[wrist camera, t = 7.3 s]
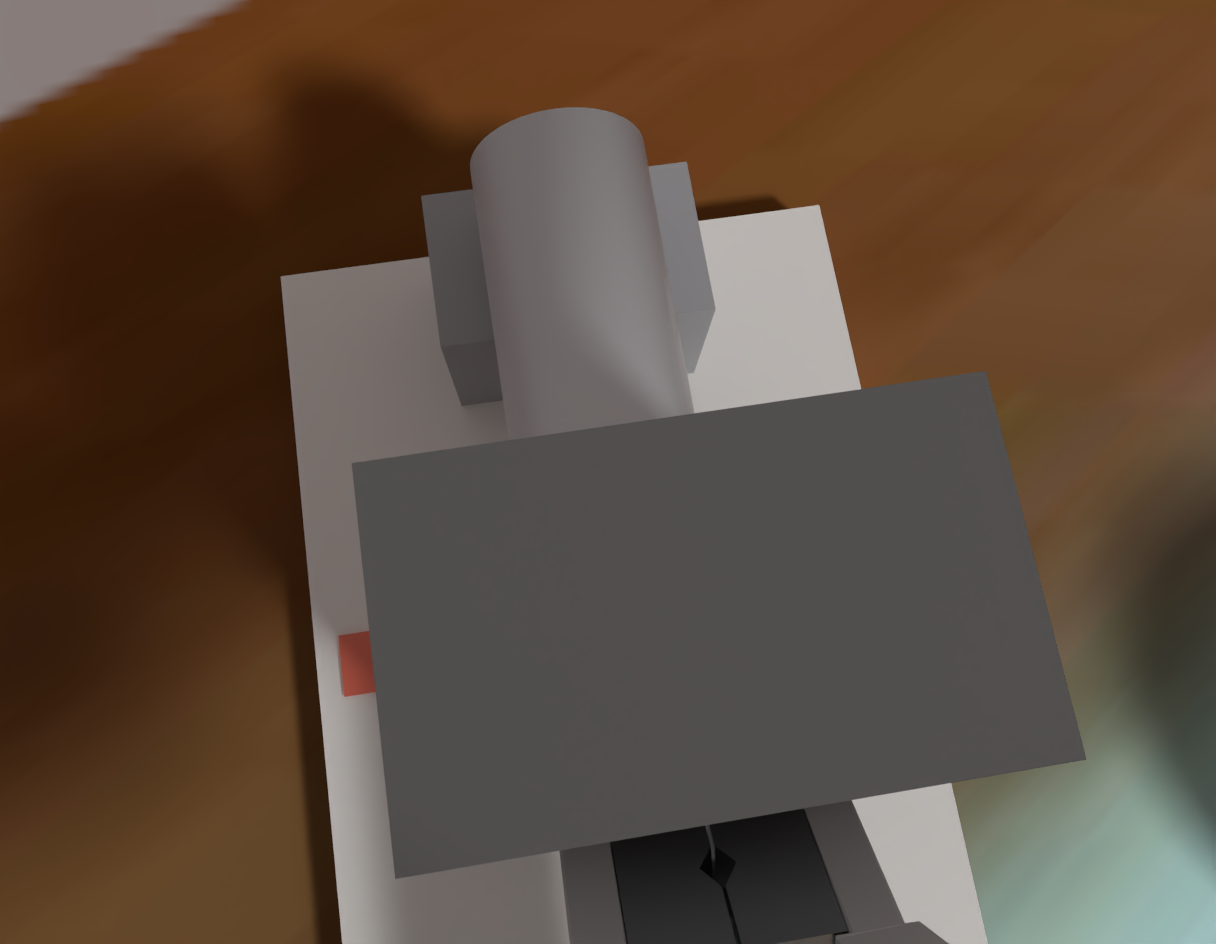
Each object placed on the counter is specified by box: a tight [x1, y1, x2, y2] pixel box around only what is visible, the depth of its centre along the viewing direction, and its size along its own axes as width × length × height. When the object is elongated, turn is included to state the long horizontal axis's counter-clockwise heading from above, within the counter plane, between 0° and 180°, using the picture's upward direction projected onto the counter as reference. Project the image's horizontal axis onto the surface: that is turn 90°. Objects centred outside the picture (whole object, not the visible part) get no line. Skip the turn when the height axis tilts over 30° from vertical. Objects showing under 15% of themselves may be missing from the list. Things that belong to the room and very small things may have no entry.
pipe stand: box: [281, 107, 988, 944], centre depth 17 cm, size 27×12×8 cm, turn 9°
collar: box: [352, 371, 1086, 879], centre depth 13 cm, size 3×6×11 cm, turn 99°
